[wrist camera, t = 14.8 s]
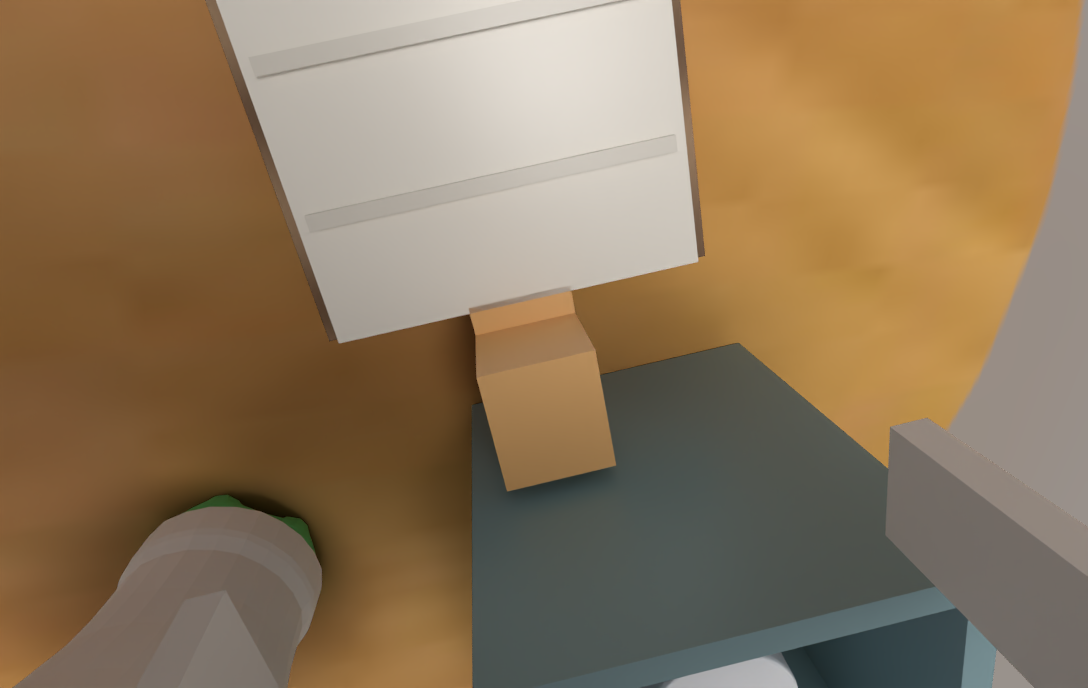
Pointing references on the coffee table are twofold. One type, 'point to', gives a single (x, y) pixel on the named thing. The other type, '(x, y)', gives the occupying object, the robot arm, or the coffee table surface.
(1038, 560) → the robot arm
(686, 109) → the board
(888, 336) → the coffee table surface
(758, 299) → the coffee table surface
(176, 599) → the cup
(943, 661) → the tub
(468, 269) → the lid
